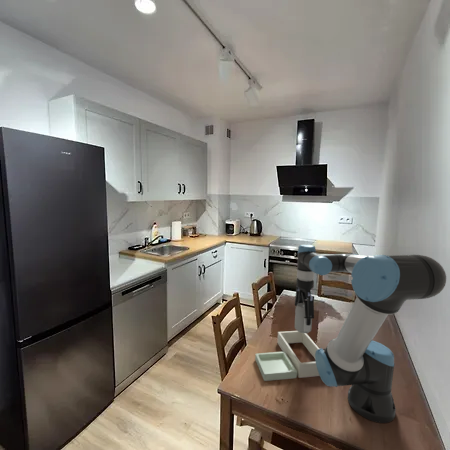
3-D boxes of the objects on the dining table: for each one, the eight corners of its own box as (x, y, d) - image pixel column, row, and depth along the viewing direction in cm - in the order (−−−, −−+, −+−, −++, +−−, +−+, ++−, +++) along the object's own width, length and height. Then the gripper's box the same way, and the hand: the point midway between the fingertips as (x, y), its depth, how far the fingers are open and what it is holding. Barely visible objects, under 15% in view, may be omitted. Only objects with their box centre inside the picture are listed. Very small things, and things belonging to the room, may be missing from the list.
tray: (296, 378, 108) (296, 371, 108) (264, 381, 106) (264, 374, 106) (284, 357, 122) (284, 351, 122) (255, 359, 120) (255, 353, 120)
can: (312, 335, 116) (313, 309, 115) (295, 333, 118) (296, 307, 116) (310, 327, 123) (311, 302, 122) (294, 325, 125) (295, 301, 124)
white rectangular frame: (329, 374, 111) (330, 361, 110) (298, 377, 108) (299, 364, 108) (303, 341, 136) (303, 330, 135) (277, 342, 134) (277, 331, 133)
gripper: (324, 285, 108) (321, 337, 111) (303, 272, 129) (301, 316, 131) (307, 286, 107) (305, 338, 110) (288, 272, 127) (286, 317, 130)
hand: (303, 326), depth 120 cm, fingers closed on can, 7 cm apart
